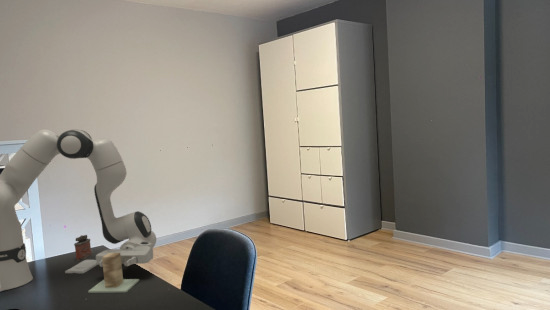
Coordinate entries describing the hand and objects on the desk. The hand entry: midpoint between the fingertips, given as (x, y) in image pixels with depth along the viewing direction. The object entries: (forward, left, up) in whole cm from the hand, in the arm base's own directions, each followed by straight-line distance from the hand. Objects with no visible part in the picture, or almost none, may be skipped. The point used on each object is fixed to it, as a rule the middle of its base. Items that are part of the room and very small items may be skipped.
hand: (113, 264), depth 148 cm
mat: (0, -1, -8) cm, 8 cm away
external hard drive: (-24, +18, -9) cm, 31 cm away
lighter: (-31, +30, -8) cm, 44 cm away
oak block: (0, -1, -7) cm, 7 cm away
